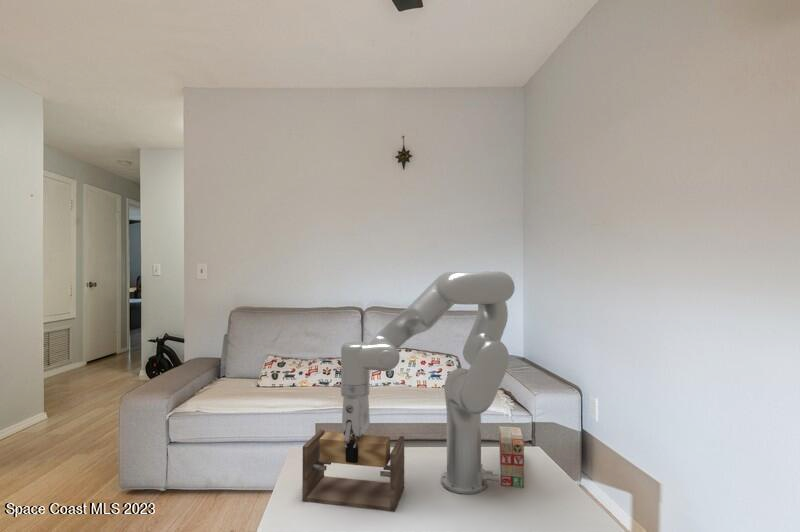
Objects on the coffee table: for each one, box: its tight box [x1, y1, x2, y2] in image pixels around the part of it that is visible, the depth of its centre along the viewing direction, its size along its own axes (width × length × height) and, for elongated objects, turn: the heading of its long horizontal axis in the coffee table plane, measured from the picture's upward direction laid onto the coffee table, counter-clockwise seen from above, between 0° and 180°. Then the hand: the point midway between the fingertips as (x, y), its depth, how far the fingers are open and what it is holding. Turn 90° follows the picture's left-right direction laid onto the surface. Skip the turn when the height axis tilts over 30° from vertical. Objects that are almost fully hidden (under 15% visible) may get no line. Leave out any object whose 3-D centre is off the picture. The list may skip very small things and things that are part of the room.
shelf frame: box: [301, 429, 405, 512], centre depth 115 cm, size 24×12×14 cm, turn 78°
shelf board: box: [320, 431, 391, 468], centre depth 115 cm, size 18×5×6 cm, turn 78°
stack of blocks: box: [498, 426, 525, 489], centre depth 129 cm, size 21×6×12 cm, turn 168°
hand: (355, 456), depth 115 cm, fingers closed on shelf board, 5 cm apart
